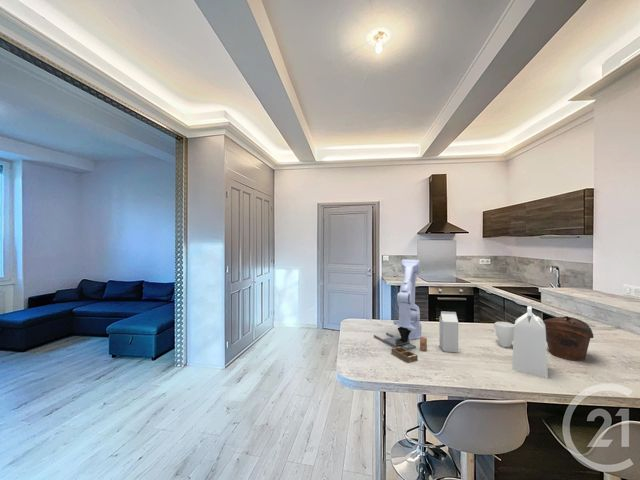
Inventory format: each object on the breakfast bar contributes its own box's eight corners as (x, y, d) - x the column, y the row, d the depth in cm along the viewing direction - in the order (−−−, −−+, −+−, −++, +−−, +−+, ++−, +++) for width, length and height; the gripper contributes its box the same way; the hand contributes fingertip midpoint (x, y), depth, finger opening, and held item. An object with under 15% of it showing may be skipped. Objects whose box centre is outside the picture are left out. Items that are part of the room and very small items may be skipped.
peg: (423, 348, 136) (423, 336, 136) (428, 350, 133) (428, 338, 133) (418, 349, 135) (418, 337, 135) (423, 351, 132) (423, 339, 132)
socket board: (400, 351, 133) (400, 346, 133) (417, 360, 123) (417, 355, 123) (391, 353, 130) (391, 348, 130) (407, 363, 120) (407, 357, 120)
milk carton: (458, 352, 131) (458, 314, 131) (442, 351, 132) (442, 313, 132) (454, 347, 138) (454, 310, 138) (439, 346, 139) (439, 309, 139)
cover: (397, 336, 148) (397, 331, 148) (410, 342, 140) (410, 336, 140) (383, 339, 144) (383, 334, 144) (395, 345, 136) (395, 340, 136)
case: (575, 348, 136) (574, 312, 136) (605, 366, 116) (604, 325, 116) (534, 345, 140) (533, 311, 140) (556, 362, 121) (555, 322, 121)
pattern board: (387, 334, 157) (387, 332, 157) (415, 348, 136) (415, 345, 136) (373, 337, 152) (373, 335, 152) (401, 351, 132) (401, 349, 132)
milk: (514, 359, 123) (513, 303, 123) (547, 367, 116) (546, 307, 116) (512, 369, 114) (511, 308, 114) (547, 378, 107) (547, 313, 107)
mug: (519, 348, 135) (518, 326, 135) (503, 349, 135) (503, 326, 135) (501, 340, 147) (501, 319, 147) (487, 340, 147) (487, 319, 147)
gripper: (388, 313, 142) (388, 338, 142) (408, 320, 129) (409, 348, 129) (399, 311, 145) (399, 336, 145) (419, 318, 132) (419, 345, 132)
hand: (404, 342), depth 137 cm, fingers closed
